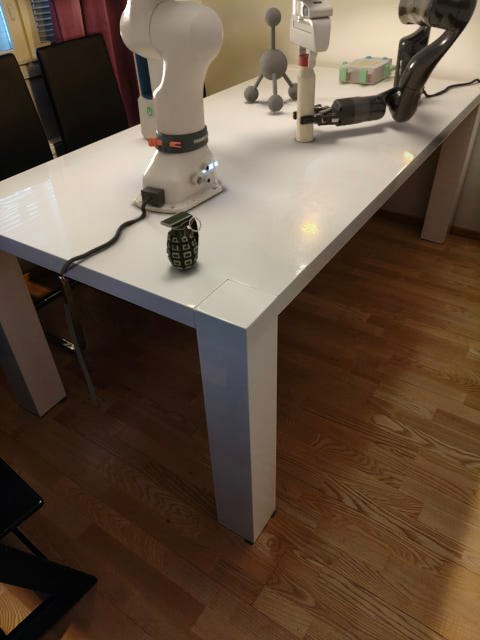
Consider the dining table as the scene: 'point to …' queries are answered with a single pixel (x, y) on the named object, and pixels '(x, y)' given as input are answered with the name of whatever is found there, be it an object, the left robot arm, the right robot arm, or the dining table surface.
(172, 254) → the grenade
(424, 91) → the right robot arm
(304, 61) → the cap
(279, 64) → the molecular model
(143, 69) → the electronic device
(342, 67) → the decorative block
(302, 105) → the bottle
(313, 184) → the dining table surface
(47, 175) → the dining table surface
